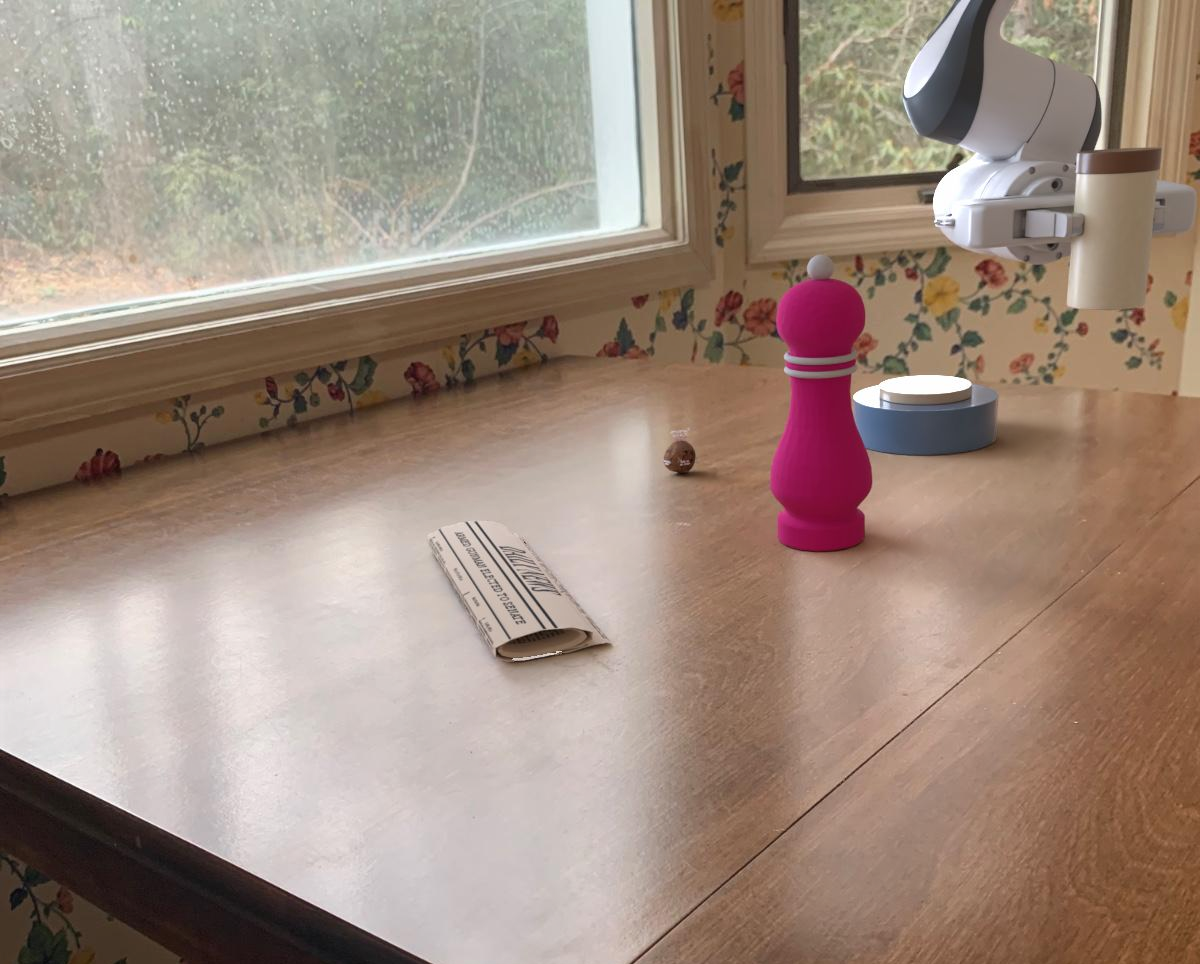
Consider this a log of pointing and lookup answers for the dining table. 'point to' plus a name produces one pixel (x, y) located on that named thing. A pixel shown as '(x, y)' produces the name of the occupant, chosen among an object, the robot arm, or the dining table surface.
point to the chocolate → (680, 455)
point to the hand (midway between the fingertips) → (1119, 222)
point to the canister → (1113, 227)
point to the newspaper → (511, 592)
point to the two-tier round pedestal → (926, 415)
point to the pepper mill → (821, 416)
